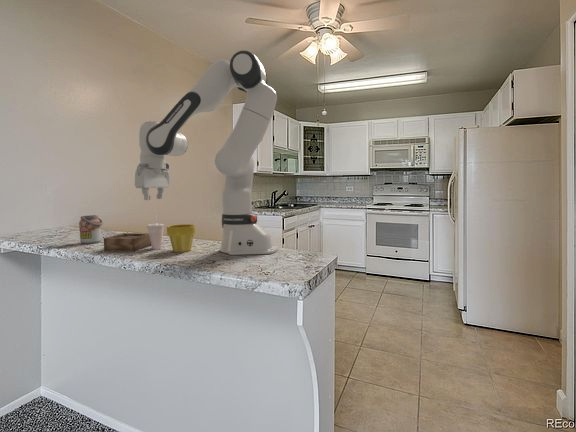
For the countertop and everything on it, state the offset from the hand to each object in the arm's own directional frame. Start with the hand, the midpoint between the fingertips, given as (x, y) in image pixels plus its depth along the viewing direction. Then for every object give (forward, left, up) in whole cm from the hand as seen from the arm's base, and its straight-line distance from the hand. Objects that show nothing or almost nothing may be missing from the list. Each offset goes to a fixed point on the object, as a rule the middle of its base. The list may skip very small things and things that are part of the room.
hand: (153, 199), depth 130 cm
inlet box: (+12, -1, -20) cm, 23 cm away
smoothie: (0, 0, -20) cm, 20 cm away
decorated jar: (+36, -11, -20) cm, 42 cm away
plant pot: (-12, +3, -20) cm, 24 cm away
